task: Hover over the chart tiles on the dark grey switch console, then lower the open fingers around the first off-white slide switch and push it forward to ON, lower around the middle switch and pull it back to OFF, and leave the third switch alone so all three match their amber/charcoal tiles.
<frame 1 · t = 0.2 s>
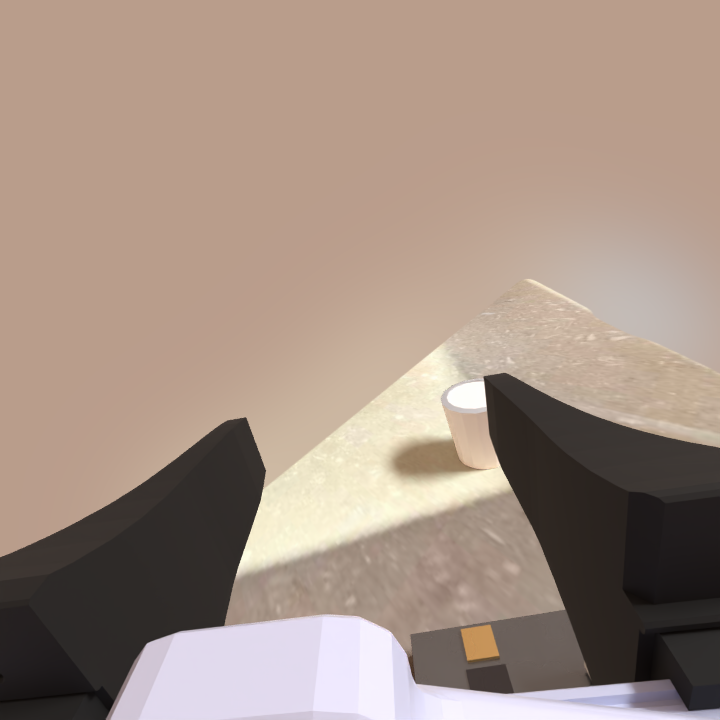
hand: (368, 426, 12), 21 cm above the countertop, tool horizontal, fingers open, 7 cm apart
white cup: (485, 453, 43), on the countertop
switch b: (634, 677, 19), point 4 cm above the countertop, slide at 6.5 cm
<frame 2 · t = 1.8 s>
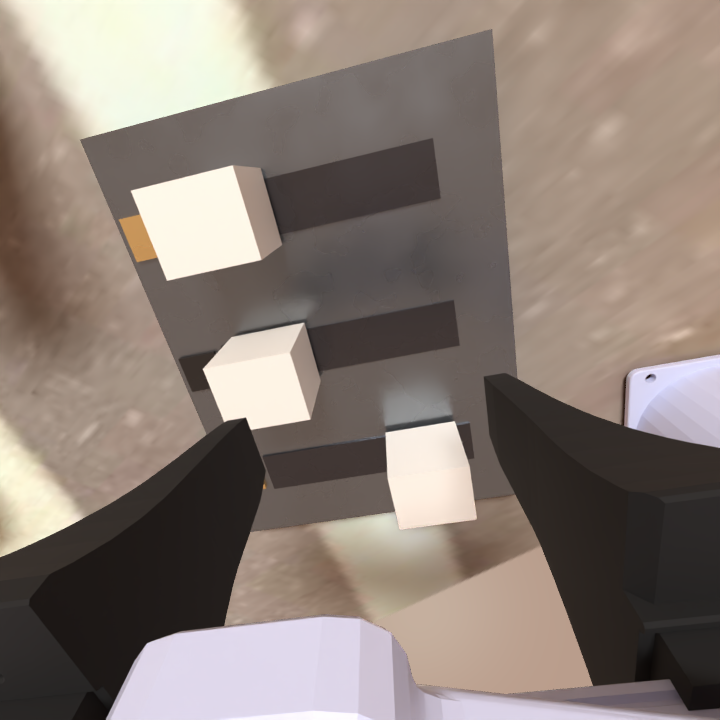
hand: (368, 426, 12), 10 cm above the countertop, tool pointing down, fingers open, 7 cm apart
console: (342, 330, 21), on the countertop
switch c: (216, 221, 15), point 4 cm above the countertop, slide at 6.5 cm
switch b: (268, 375, 18), point 4 cm above the countertop, slide at 6.5 cm
switch a: (428, 473, 20), point 4 cm above the countertop, slide at 0.5 cm
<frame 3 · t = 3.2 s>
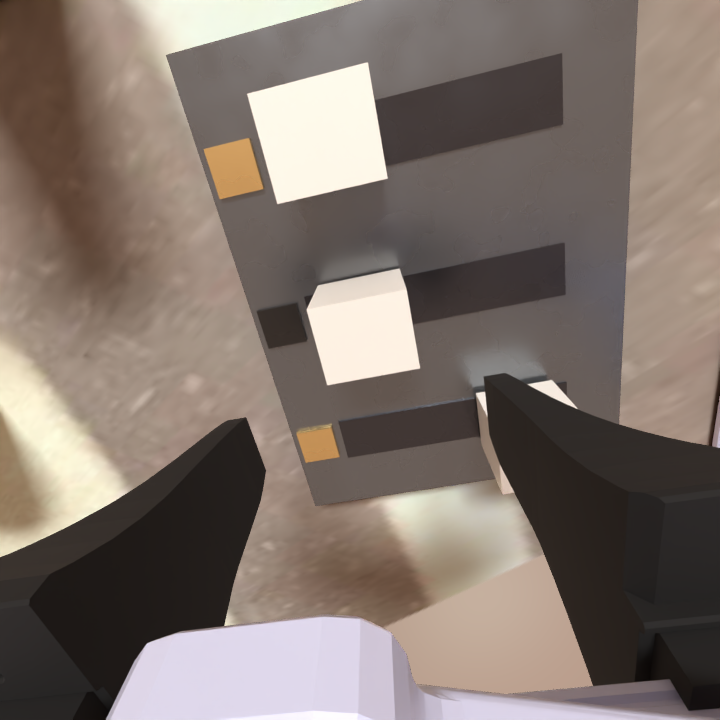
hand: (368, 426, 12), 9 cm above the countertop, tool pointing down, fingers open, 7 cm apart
console: (427, 284, 20), on the countertop
switch c: (325, 142, 14), point 4 cm above the countertop, slide at 6.5 cm
switch b: (365, 323, 16), point 4 cm above the countertop, slide at 6.5 cm
switch a: (528, 434, 18), point 4 cm above the countertop, slide at 0.5 cm
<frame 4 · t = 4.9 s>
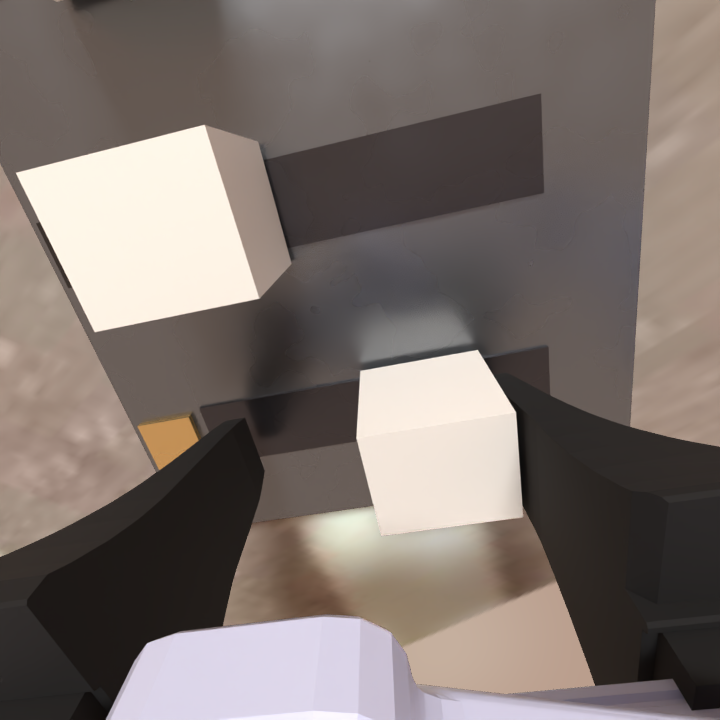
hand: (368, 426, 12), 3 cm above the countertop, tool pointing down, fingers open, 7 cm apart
console: (331, 192, 13), on the countertop
switch b: (183, 228, 9), point 4 cm above the countertop, slide at 6.5 cm
switch a: (433, 436, 11), point 4 cm above the countertop, slide at 1.8 cm, touching gripper
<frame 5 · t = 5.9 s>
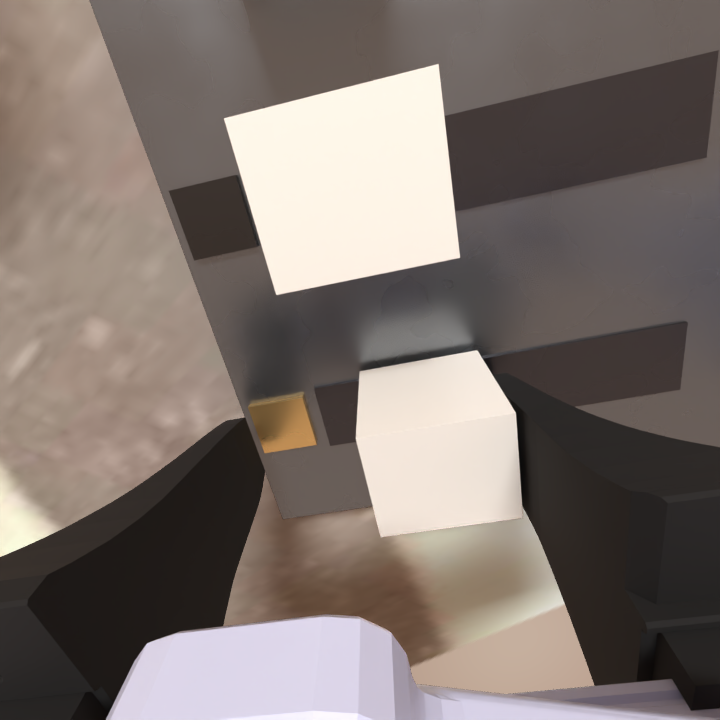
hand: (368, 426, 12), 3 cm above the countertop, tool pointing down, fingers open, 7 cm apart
console: (458, 162, 12), on the countertop
switch b: (352, 189, 9), point 4 cm above the countertop, slide at 6.5 cm
switch a: (432, 436, 11), point 4 cm above the countertop, slide at 5.7 cm, touching gripper
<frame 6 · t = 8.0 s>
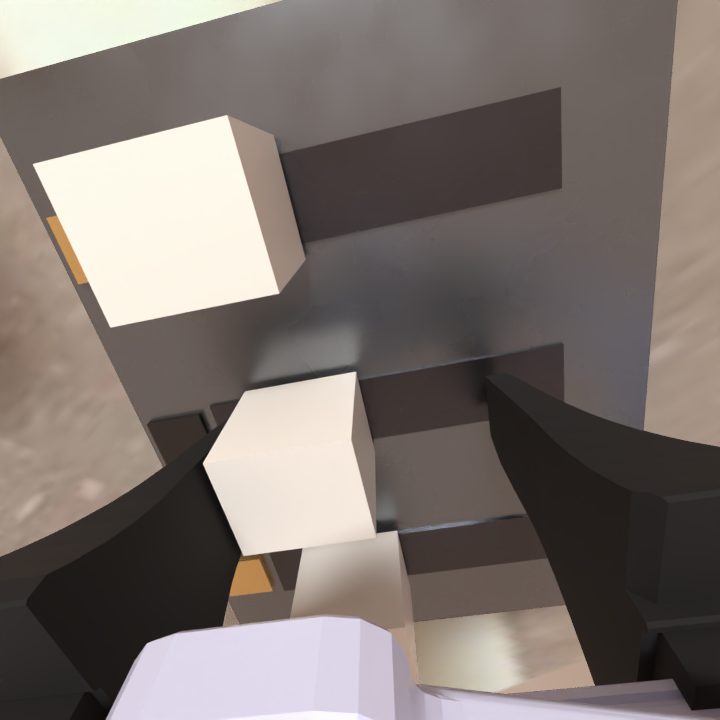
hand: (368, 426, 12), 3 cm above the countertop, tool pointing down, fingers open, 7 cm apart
console: (383, 377, 15), on the countertop
switch c: (199, 222, 9), point 4 cm above the countertop, slide at 6.5 cm
switch b: (303, 457, 12), point 4 cm above the countertop, slide at 5.9 cm, touching gripper
switch a: (356, 610, 14), point 4 cm above the countertop, slide at 5.7 cm
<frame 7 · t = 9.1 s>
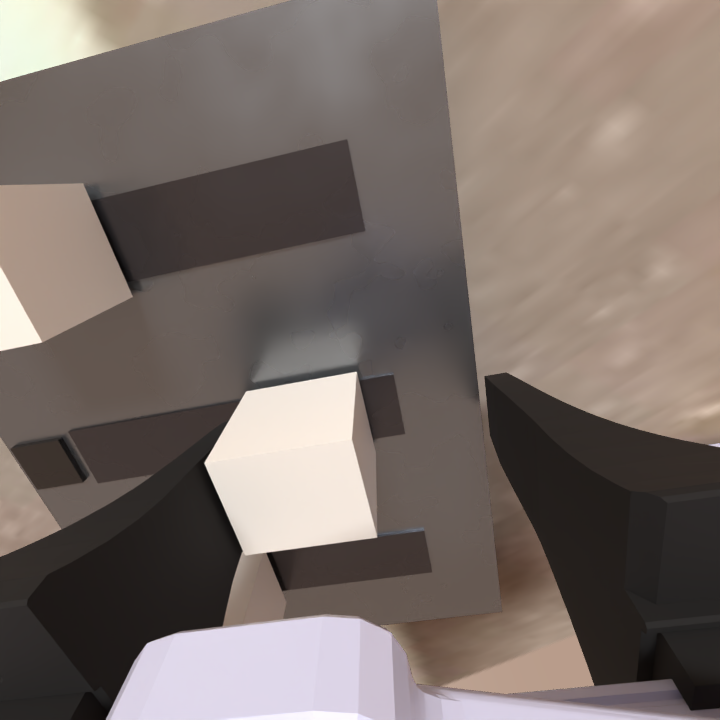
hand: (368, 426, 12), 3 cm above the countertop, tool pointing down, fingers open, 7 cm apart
console: (251, 401, 16), on the countertop
switch b: (304, 456, 12), point 4 cm above the countertop, slide at 0.8 cm, touching gripper
switch a: (218, 626, 15), point 4 cm above the countertop, slide at 5.7 cm
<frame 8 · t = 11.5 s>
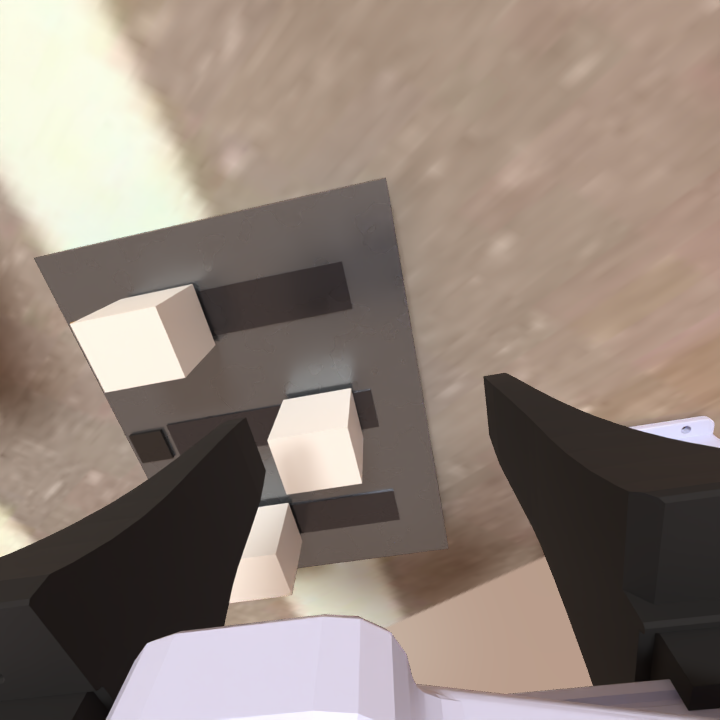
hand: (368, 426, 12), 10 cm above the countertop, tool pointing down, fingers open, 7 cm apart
console: (280, 405, 24), on the countertop
switch c: (150, 335, 18), point 4 cm above the countertop, slide at 6.5 cm
switch b: (320, 439, 20), point 4 cm above the countertop, slide at 0.7 cm
switch a: (259, 551, 23), point 4 cm above the countertop, slide at 5.7 cm
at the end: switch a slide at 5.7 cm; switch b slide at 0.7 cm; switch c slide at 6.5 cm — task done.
